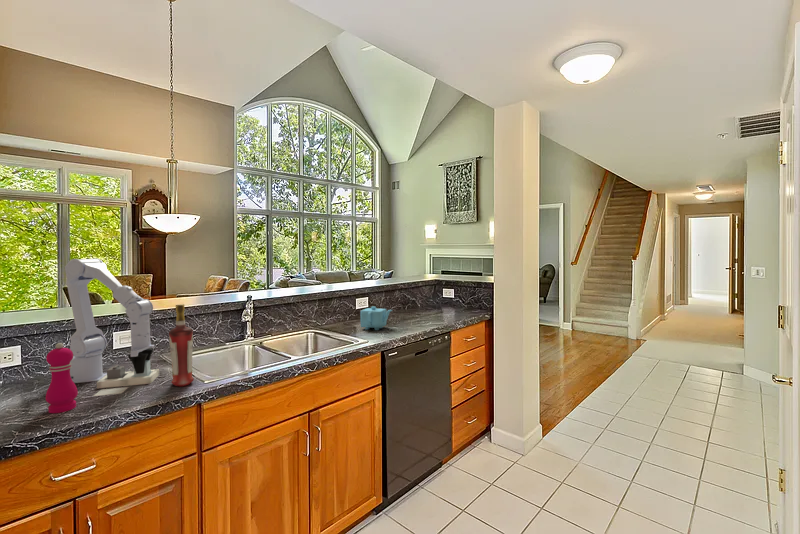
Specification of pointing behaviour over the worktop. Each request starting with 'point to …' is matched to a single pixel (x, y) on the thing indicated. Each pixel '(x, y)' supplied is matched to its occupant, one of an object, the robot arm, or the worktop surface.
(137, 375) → the plug
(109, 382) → the white tray
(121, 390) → the mat
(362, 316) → the teapot
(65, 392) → the pepper mill
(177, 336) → the liquor
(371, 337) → the worktop surface
